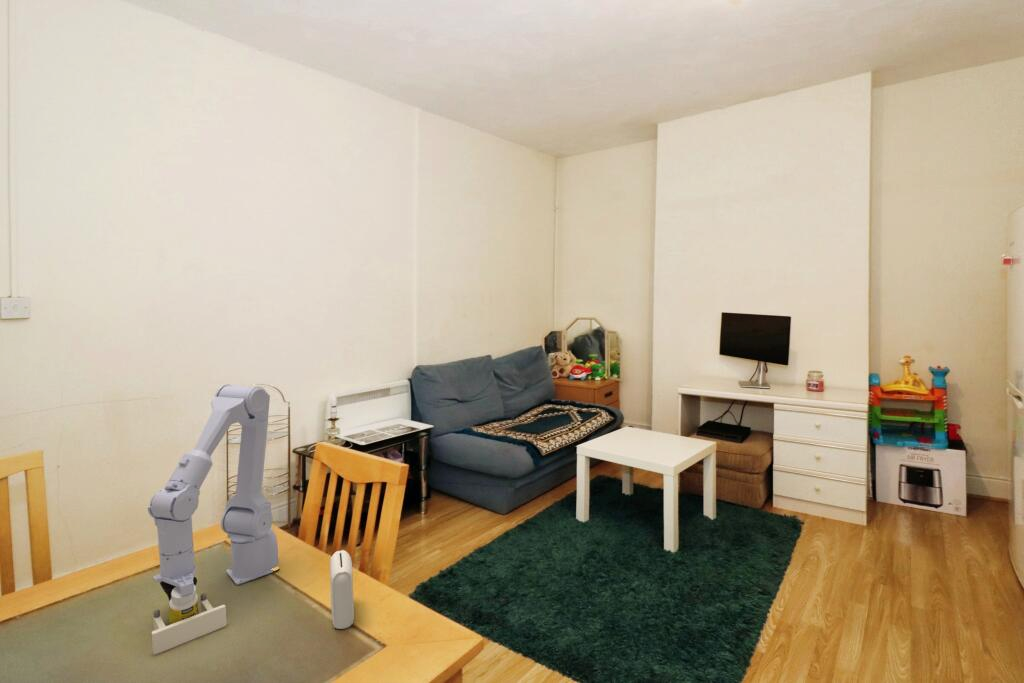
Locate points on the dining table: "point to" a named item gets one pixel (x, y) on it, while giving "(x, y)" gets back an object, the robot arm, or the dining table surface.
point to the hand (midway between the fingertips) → (180, 613)
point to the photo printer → (341, 589)
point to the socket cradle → (187, 626)
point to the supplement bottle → (182, 605)
